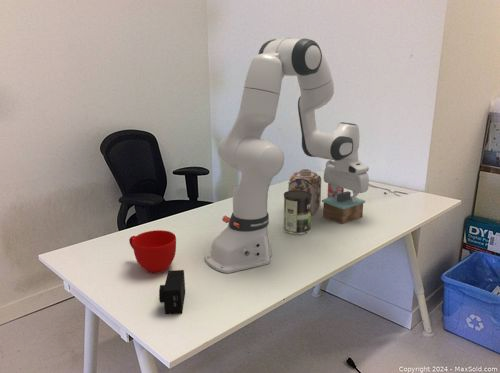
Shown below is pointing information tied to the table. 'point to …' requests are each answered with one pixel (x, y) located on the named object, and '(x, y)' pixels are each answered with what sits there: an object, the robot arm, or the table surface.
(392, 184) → the table surface
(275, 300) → the table surface
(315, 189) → the decorative jar
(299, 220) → the coffee can
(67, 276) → the table surface
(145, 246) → the ceramic cup
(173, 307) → the digital camera
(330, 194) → the soda can
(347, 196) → the lid
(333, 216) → the walnut box
